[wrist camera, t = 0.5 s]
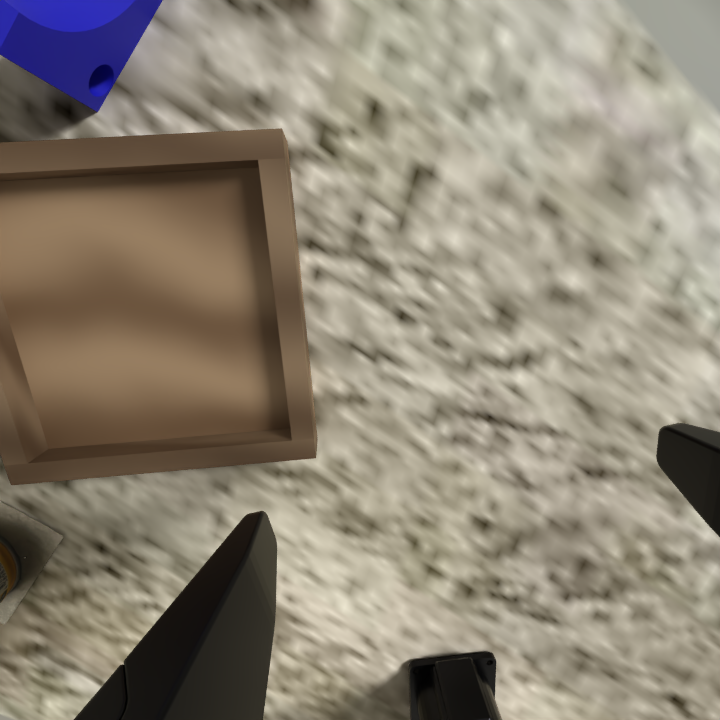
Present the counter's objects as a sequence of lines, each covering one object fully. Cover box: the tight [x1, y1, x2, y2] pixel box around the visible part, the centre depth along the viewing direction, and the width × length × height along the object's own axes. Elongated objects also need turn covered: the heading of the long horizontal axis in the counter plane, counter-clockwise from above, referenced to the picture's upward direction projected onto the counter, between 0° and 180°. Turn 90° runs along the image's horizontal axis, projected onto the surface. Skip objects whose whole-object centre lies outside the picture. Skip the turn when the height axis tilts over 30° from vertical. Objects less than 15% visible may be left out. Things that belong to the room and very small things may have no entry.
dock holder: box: [0, 129, 317, 485], centre depth 20 cm, size 16×16×2 cm
